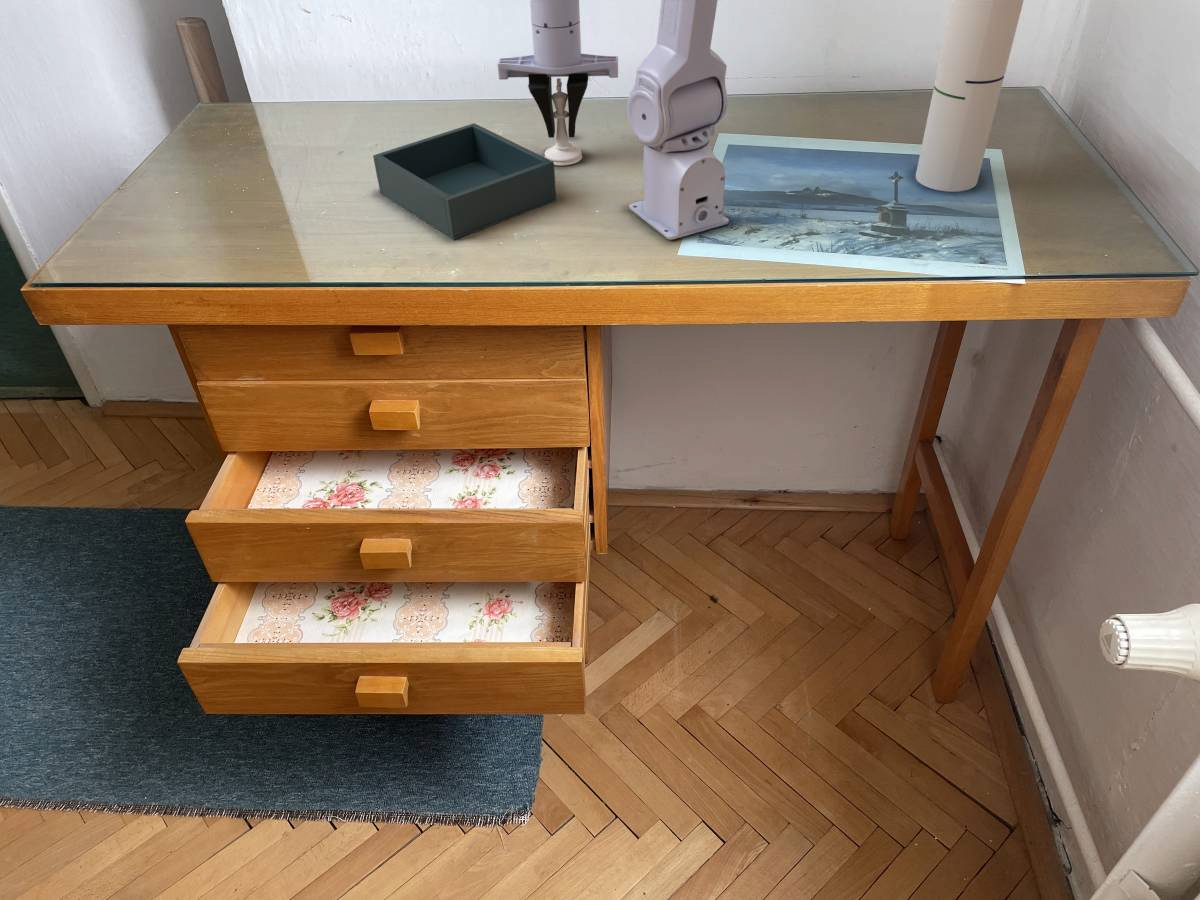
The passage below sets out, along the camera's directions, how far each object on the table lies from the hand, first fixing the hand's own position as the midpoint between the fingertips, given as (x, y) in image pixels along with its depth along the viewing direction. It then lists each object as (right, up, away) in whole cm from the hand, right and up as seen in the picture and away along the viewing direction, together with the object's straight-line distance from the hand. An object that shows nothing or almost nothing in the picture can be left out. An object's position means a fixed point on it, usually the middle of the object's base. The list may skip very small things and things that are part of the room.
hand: (562, 134), depth 116 cm
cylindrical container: (+47, -7, -6) cm, 48 cm away
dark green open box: (-11, -9, -6) cm, 16 cm away
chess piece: (0, -2, +2) cm, 3 cm away
